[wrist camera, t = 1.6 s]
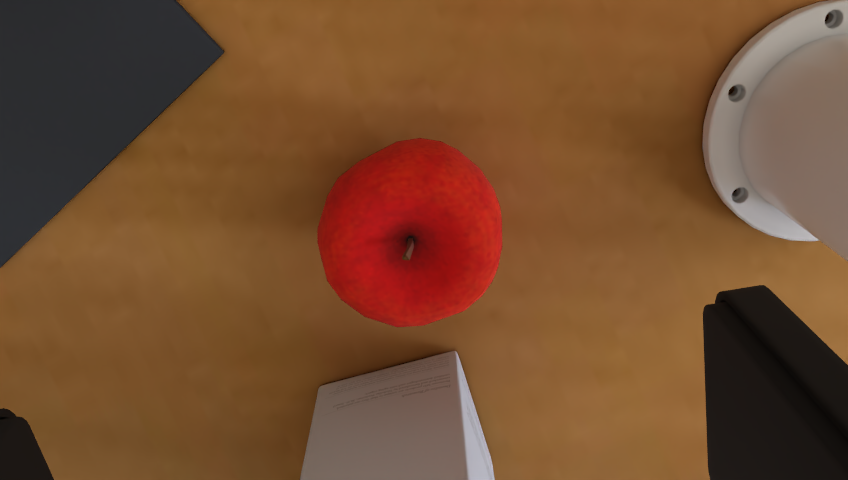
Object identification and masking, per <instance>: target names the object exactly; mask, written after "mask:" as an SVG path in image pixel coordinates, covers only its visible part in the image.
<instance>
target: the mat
mask: <svg viewBox="0 0 848 480" xmlns="http://www.w3.org/2000/svg"><path fill="white" fill-rule="evenodd" d="M223 53H224V51H223V50H222V49H221V48H220V47H219V45H218V44H217V43H216V42H215V41H214V40H213V39H212V38H211V37H210V36H209V35H208V34H207V33H206V32H205V31H204V30H203V29H202V28H201V26H200V25H199V24H198V23H197V22H196V21H195V20H194V19H193V18H192V17H191V16H190V15H189V14H188V13H187V12H186V11H185V10H184V8H183V7H182V6H181V5H180V4H179V3H178V2H177V1H176V0H0V267H1V266H3V265H4V264H5V263H6V262H7V261H8V260H9V259H10V258H11V257H12V256H13V255H14V254H15V253H16V252H17V251H18V250H19V249H20V248H21V247H22V246H23V245H24V244H25V243H26V242H28V241H29V240H30V239H31V238H32V237H33V236H34V235H35V234H36V233H37V232H38V231H39V230H40V229H41V228H42V227H43V226H44V225H45V224H46V223H47V222H48V221H49V220H50V219H51V218H53V217H54V216H55V215H56V214H57V213H58V212H59V211H60V210H61V209H62V208H63V207H64V206H65V205H66V204H67V203H68V202H69V201H70V200H71V199H72V198H73V197H74V196H75V195H76V194H78V193H79V192H80V191H81V190H82V189H83V188H84V187H85V186H86V185H87V184H88V183H89V182H90V181H91V180H92V179H93V178H94V177H95V176H96V175H97V174H98V173H99V172H100V171H101V170H103V169H104V168H105V167H106V166H107V165H108V164H109V163H110V162H111V161H112V160H113V159H114V158H115V157H116V156H117V155H118V154H119V153H120V152H121V151H122V150H123V149H124V148H125V147H126V146H128V145H129V144H130V143H131V142H132V141H133V140H134V139H135V138H136V137H137V136H138V135H139V134H140V133H141V132H142V131H143V130H144V129H145V128H146V127H147V126H148V125H149V124H150V123H151V122H152V121H154V120H155V119H156V118H157V117H158V116H159V115H160V114H161V113H162V112H163V111H164V110H165V109H166V108H167V107H168V106H169V105H170V104H171V103H172V102H173V101H174V100H175V99H176V98H177V97H179V96H180V95H181V94H182V93H183V92H184V91H185V90H186V89H187V88H188V87H189V86H190V85H191V84H192V83H193V82H194V81H195V80H196V79H197V78H198V77H199V76H200V75H201V74H202V73H204V72H205V71H206V70H207V69H208V68H209V67H210V66H211V65H212V64H213V63H214V62H215V61H216V60H217V59H218V58H219V57H220V56H221V55H222V54H223Z"/></svg>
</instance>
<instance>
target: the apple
mask: <svg viewBox="0 0 848 480" xmlns="http://www.w3.org/2000/svg"><path fill="white" fill-rule="evenodd" d="M318 246H319V251H320V255H321V259H322V262H323V266H324V270H325V274H326V277H327V281H328V282H329V284H330V285H331V286H332V288H333V289H334V290H335V292H336V293H337V294H338V296H339V297H340V298H341V300H343V301H344V302H345V303H347V304H348V305H349V306H351V307H352V308H353V309H355V310H356V311H358V312H359V313H360V314H362V315H363V316H364V317H367V318H371V319H374V320H377V321H380V322H383V323H386V324H389V325H392V326H395V327H407V326H422V325H426V324H429V323H432V322H434V321H437V320H440V319H443V318H446V317H448V316H451V315H454V314H457V313H460V312H462V311H464V310H466V309H467V308H468V307H469V306H471V305H472V304H473V303H474V302H475V301H477V300H478V299H479V298H480V297H481V296H482V295H483V294H484V292H485V291H486V289H487V288H488V287H489V285H490V284H491V283H492V281H493V278H494V276H495V273H496V271H497V268H498V264H499V259H500V254H501V250H502V218H501V210H500V205H499V203H498V200H497V197H496V194H495V191H494V189H493V187H492V186H491V184H490V183H489V181H488V180H487V178H486V177H485V175H484V174H483V172H482V171H481V170H480V168H478V167H477V166H476V165H475V164H474V163H473V162H471V161H470V160H469V159H468V158H467V157H466V156H464V155H463V154H462V153H461V152H460V151H458V150H457V149H455V148H453V147H451V146H449V145H447V144H445V143H443V142H441V141H435V140H429V139H422V138H418V139H411V140H405V141H398V142H396V143H394V144H392V145H390V146H388V147H386V148H384V149H382V150H380V151H378V152H376V153H374V154H372V155H370V156H368V157H367V158H365V159H363V160H361V161H359V162H358V163H356V164H355V165H354V166H353V167H351V168H350V169H349V170H348V171H346V172H345V173H344V174H342V175H341V176H340V177H339V178H338V179H337V181H336V182H335V184H334V186H333V187H332V189H331V191H330V192H329V194H328V196H327V199H326V202H325V206H324V209H323V212H322V216H321V219H320V222H319V226H318Z"/></svg>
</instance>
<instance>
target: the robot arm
mask: <svg viewBox="0 0 848 480" xmlns="http://www.w3.org/2000/svg"><path fill="white" fill-rule="evenodd" d="M827 14H829V18H828V20H827V21H826V22H825V17H826V15H827ZM732 86H734V92H733V93H732V94H730V95H728V92H729V90H730V89H731V87H732ZM702 148H703V154H704V161H705V167H706V170H707V173H708V175H709V178H710V181H711V183H712V186H713V188H714V189H715V191H716V192H717V194H718V195H719V197H720V198H721V200H722V201H723V203H724V204H725V205H726V206H727V207H728V208H729V209H731V210H732V211H733V212H734V213H735V214H736V215H737V216H738V217H739V218H741V219H742V220H743V221H745V222H746V223H747V224H749V225H750V226H751V227H753V228H755V229H757V230H759V231H762V232H764V233H766V234H768V235H770V236H774V237H778V238H783V239H787V240H794V241H819V240H820V241H821V242H822V243H824V244H825V245H826V246H828V247H829V248H830V249H832V250H833V251H835V252H836V253H837V254H839V255H840V256H841V257H843V258H844V259H845V260H847V261H848V0H829V1H822V2H817V3H814V4H811V5H808V6H805V7H802V8H799V9H797V10H794V11H792V12H790V13H788V14H786V15H785V16H783V17H781V18H779V19H777V20H775V21H774V22H772V23H770V24H769V25H768V26H766V27H765V28H764V29H763V30H761V31H760V32H759V33H758V34H756V35H755V36H754V37H752V38H751V39H750V40H749V41H748V42H747V43H746V44H745V45H744V47H743V48H742V49H741V50H740V51H739V52H738V53H737V54H736V55H735V56H734V57H733V59H732V60H731V62H730V63H729V65H728V66H727V68H726V69H725V71H724V72H723V74H722V75H721V77H720V78H719V80H718V82H717V85H716V87H715V89H714V91H713V94H712V96H711V98H710V100H709V104H708V108H707V112H706V116H705V120H704V124H703V143H702ZM737 188H738V189H737ZM735 189H737V191H736V193H734V194H732V193H733V191H734V190H735ZM703 330H704V360H705V390H706V419H707V449H708V470H709V476H710V480H848V365H847V364H846V363H845V362H844V361H843V360H842V359H841V358H840V357H839V356H838V355H837V354H835V353H834V352H833V351H832V350H831V349H830V348H829V347H828V346H827V345H826V344H825V343H824V342H823V341H822V340H821V339H820V338H819V337H818V336H817V335H816V334H815V333H814V332H813V331H812V330H811V329H810V328H809V327H808V326H807V325H806V324H805V323H804V322H803V321H801V320H800V319H799V318H798V317H797V316H796V315H795V314H794V313H793V312H792V311H791V310H790V309H789V308H788V307H787V306H786V305H785V304H784V303H783V302H782V301H781V300H780V299H779V298H778V297H777V296H776V295H775V294H774V293H773V292H772V291H771V290H770V289H769V288H767V287H766V286H764V285H759V286H753V287H747V288H741V289H735V290H728V291H722V292H719V293H718V294H717V297H716V300H715V304H710V305H706V306H705V307H704V311H703ZM0 480H54V479H53V477H52V474H51V472H50V470H49V468H48V465H47V463H46V461H45V459H44V457H43V454H42V452H41V450H40V448H39V445H38V443H37V441H36V439H35V437H34V434H33V432H32V430H31V428H30V426H29V424H28V422H27V421H26V420H25V419H24V418H22V417H16V416H15V414H14V413H13V412H11V411H10V410H8V409H4V408H3V409H0Z"/></svg>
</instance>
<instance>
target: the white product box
mask: <svg viewBox="0 0 848 480" xmlns="http://www.w3.org/2000/svg"><path fill="white" fill-rule="evenodd" d="M300 480H495V479H494V472H493V466H492V460H491V457H490V454H489V450H488V447H487V444H486V441H485V438H484V434H483V431H482V428H481V425H480V422H479V419H478V415H477V412H476V409H475V406H474V403H473V400H472V397H471V394H470V390H469V387H468V384H467V381H466V378H465V375H464V372H463V369H462V365H461V362H460V359H459V356H458V354H457V352H456V351H451V352H447V353H443V354H440V355H436V356H432V357H428V358H424V359H421V360H417V361H413V362H409V363H405V364H402V365H398V366H394V367H390V368H386V369H383V370H379V371H375V372H371V373H367V374H363V375H360V376H356V377H352V378H348V379H344V380H341V381H337V382H333V383H330V384H326V385H322V386H320V387H319V389H318V394H317V399H316V404H315V409H314V414H313V419H312V424H311V428H310V433H309V438H308V443H307V448H306V453H305V457H304V462H303V467H302V472H301V477H300Z"/></svg>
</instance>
